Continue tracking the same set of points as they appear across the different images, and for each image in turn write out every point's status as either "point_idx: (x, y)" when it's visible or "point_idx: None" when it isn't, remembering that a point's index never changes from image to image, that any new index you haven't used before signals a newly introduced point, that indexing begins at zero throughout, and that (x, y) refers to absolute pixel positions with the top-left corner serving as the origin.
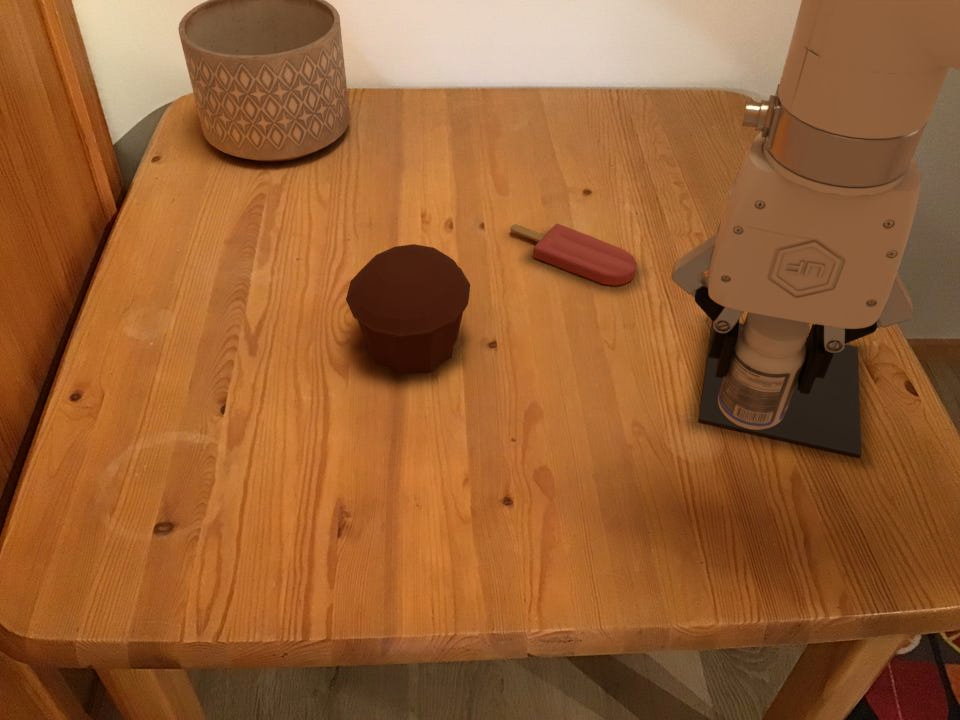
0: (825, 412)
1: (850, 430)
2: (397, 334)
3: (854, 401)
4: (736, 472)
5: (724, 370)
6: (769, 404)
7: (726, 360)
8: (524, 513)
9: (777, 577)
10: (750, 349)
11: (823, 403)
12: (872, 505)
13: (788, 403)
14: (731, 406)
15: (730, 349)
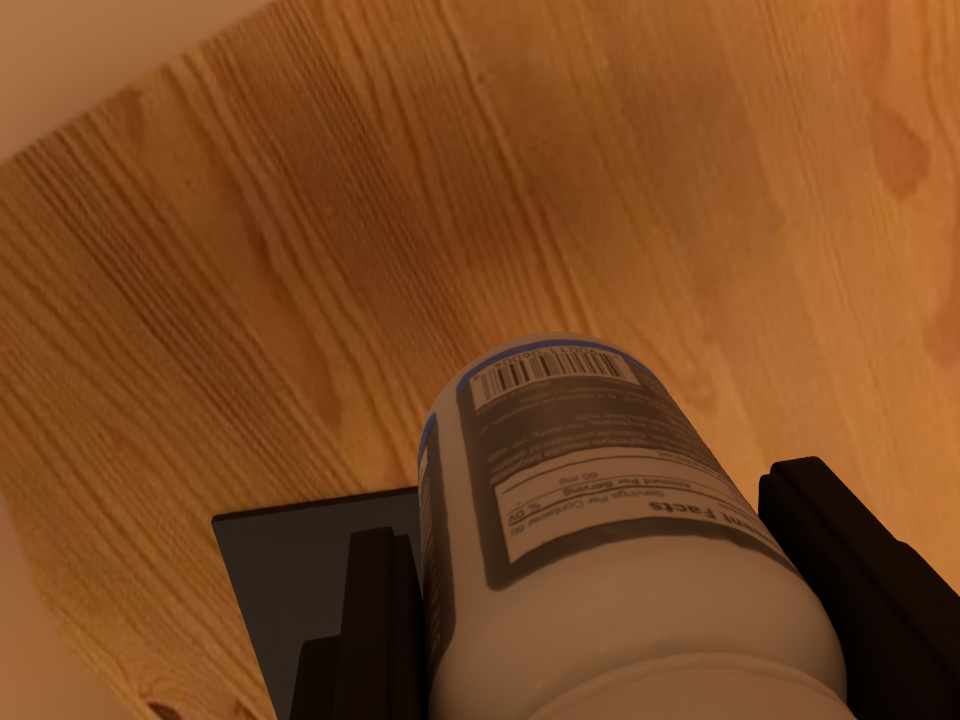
0: (312, 594)
1: (250, 572)
2: None
3: (263, 643)
4: (459, 369)
5: (812, 491)
6: (512, 421)
7: (856, 541)
8: (938, 30)
9: (296, 116)
10: (784, 657)
11: (322, 614)
12: (151, 409)
13: (422, 483)
14: (646, 380)
15: (913, 608)
